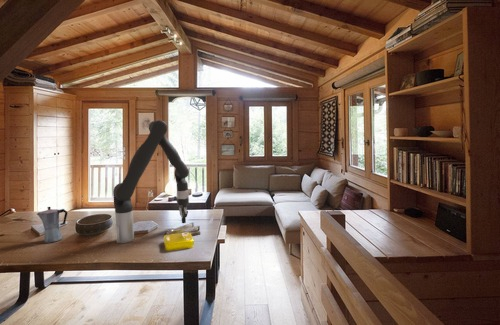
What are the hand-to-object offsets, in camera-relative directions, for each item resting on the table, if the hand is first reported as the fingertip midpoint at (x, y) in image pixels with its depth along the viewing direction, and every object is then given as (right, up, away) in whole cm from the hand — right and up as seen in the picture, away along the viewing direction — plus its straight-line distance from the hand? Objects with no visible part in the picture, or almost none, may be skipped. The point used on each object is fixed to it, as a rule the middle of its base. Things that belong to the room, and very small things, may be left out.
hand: (183, 222), depth 184 cm
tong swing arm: (+2, -2, -8) cm, 8 cm away
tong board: (+2, -4, -11) cm, 12 cm away
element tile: (+4, -7, -27) cm, 28 cm away
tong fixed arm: (+3, -3, -12) cm, 13 cm away
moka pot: (-71, -6, -20) cm, 74 cm away
